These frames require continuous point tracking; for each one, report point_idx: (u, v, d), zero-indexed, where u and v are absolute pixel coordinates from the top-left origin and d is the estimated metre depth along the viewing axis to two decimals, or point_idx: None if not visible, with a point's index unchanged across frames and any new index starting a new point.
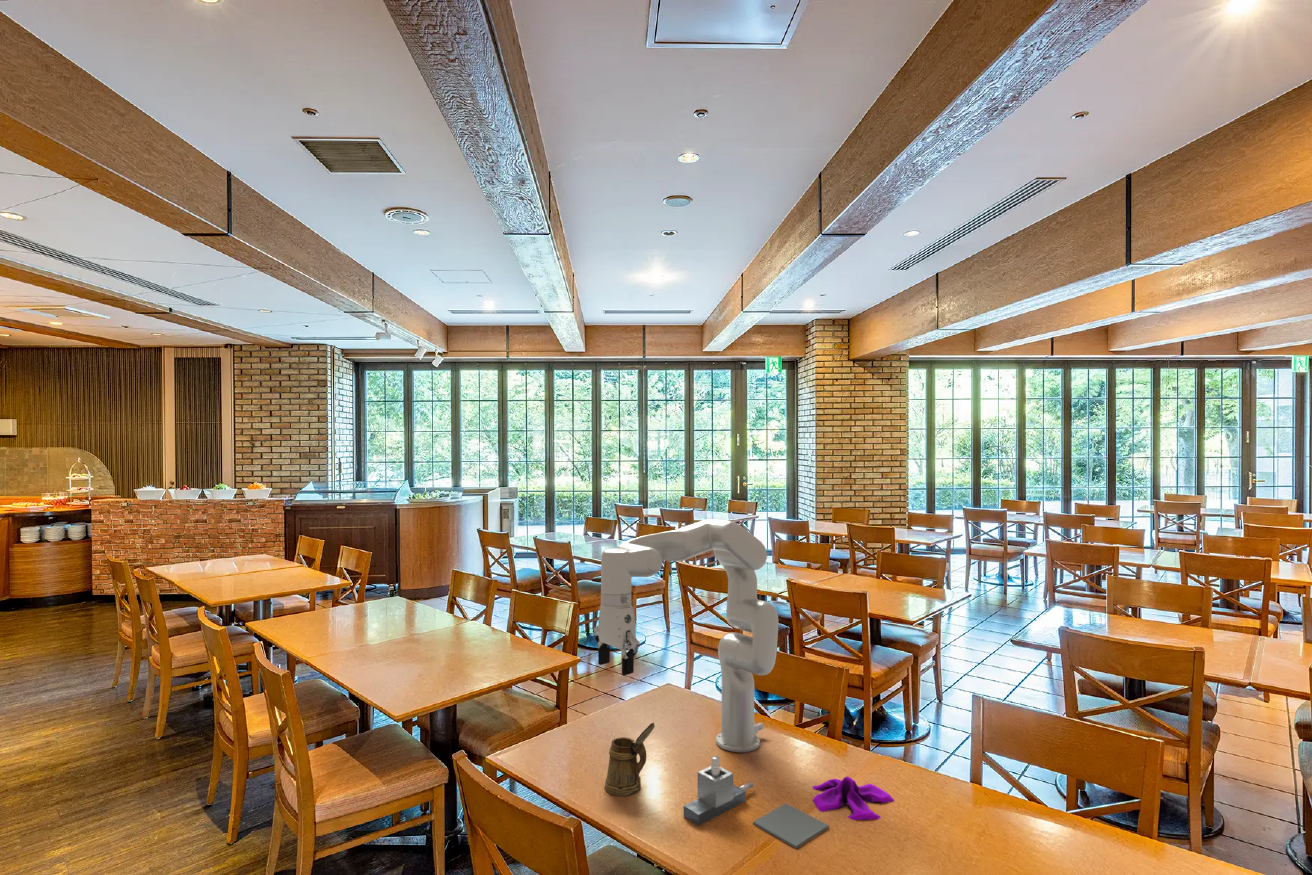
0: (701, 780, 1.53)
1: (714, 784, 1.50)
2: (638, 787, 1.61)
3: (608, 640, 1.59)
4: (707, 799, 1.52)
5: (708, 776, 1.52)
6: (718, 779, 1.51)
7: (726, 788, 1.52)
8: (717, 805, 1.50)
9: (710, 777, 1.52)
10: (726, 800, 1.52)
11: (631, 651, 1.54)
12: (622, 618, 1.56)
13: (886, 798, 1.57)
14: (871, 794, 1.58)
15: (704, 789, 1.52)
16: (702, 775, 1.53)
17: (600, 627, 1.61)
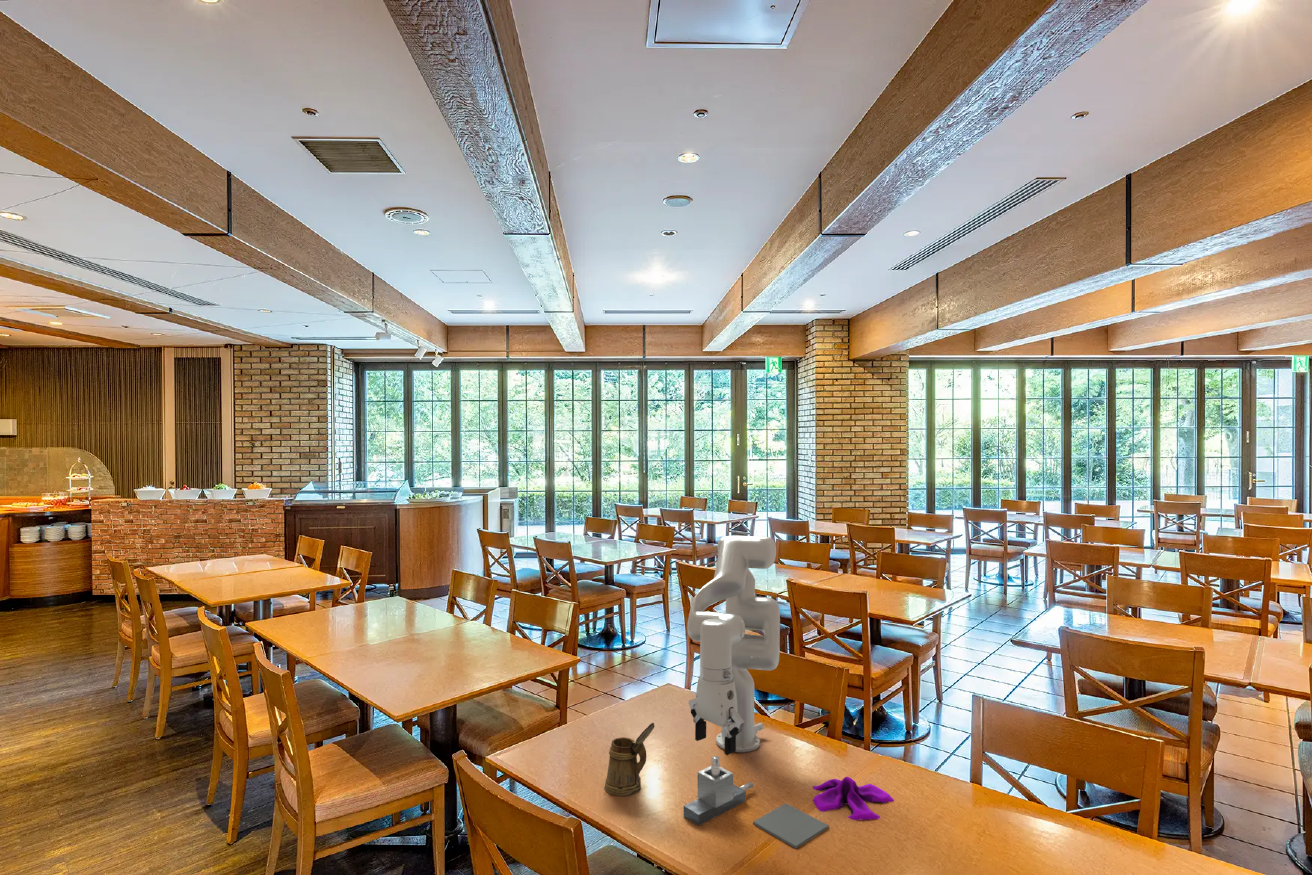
0: (701, 780, 1.53)
1: (714, 784, 1.50)
2: (638, 787, 1.61)
3: (708, 716, 1.52)
4: (707, 799, 1.52)
5: (708, 776, 1.52)
6: (718, 779, 1.51)
7: (726, 788, 1.52)
8: (717, 805, 1.50)
9: (710, 777, 1.52)
10: (726, 800, 1.52)
11: (735, 730, 1.48)
12: (725, 694, 1.50)
13: (886, 798, 1.58)
14: (871, 794, 1.58)
15: (704, 789, 1.52)
16: (702, 775, 1.53)
17: (698, 702, 1.55)
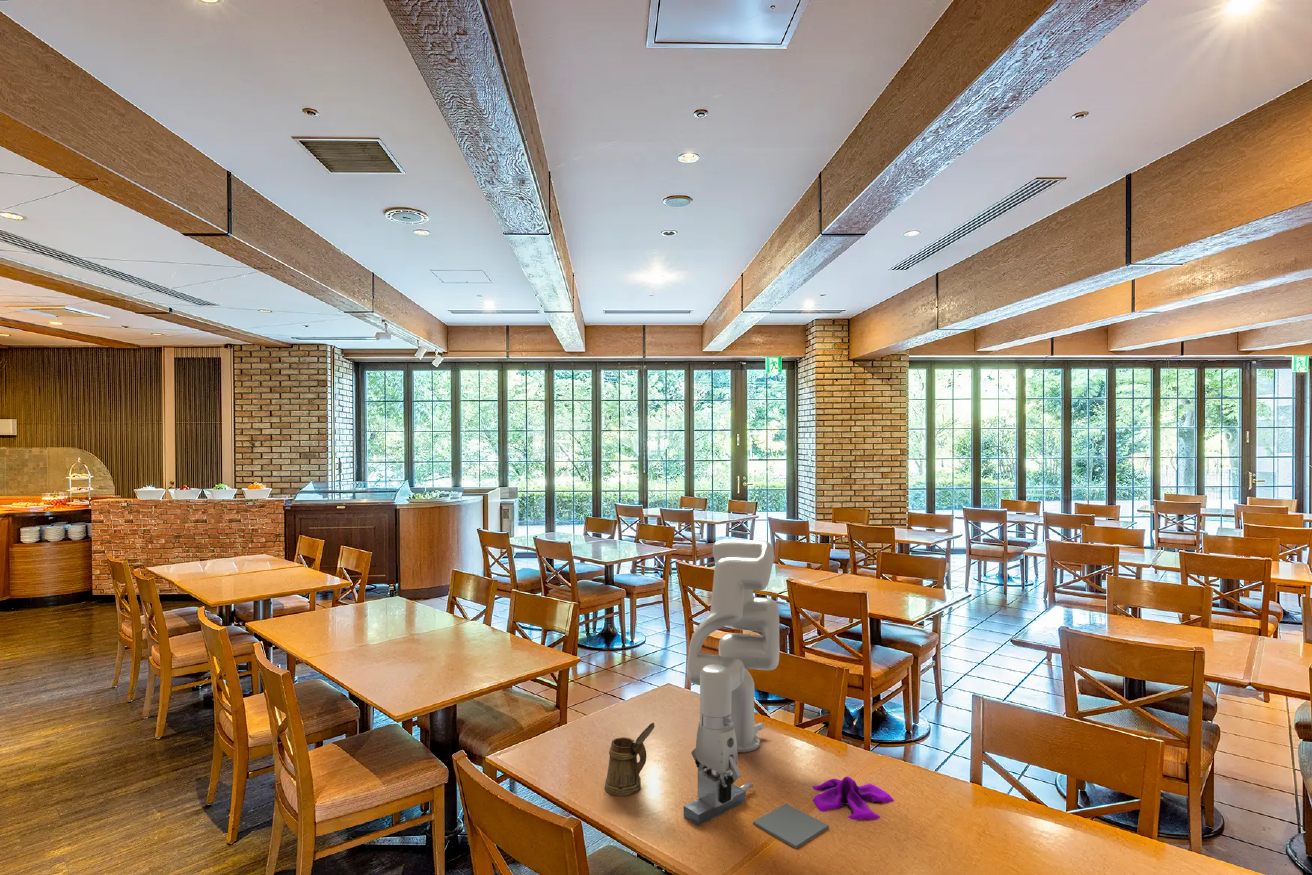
0: (701, 780, 1.53)
1: (714, 784, 1.50)
2: (638, 787, 1.61)
3: (708, 763, 1.53)
4: (707, 799, 1.52)
5: (708, 776, 1.52)
6: (718, 779, 1.51)
7: None
8: (717, 805, 1.50)
9: (710, 777, 1.52)
10: None
11: (731, 780, 1.49)
12: (725, 742, 1.50)
13: (886, 798, 1.58)
14: (871, 794, 1.58)
15: (704, 789, 1.52)
16: (702, 775, 1.53)
17: (698, 747, 1.55)
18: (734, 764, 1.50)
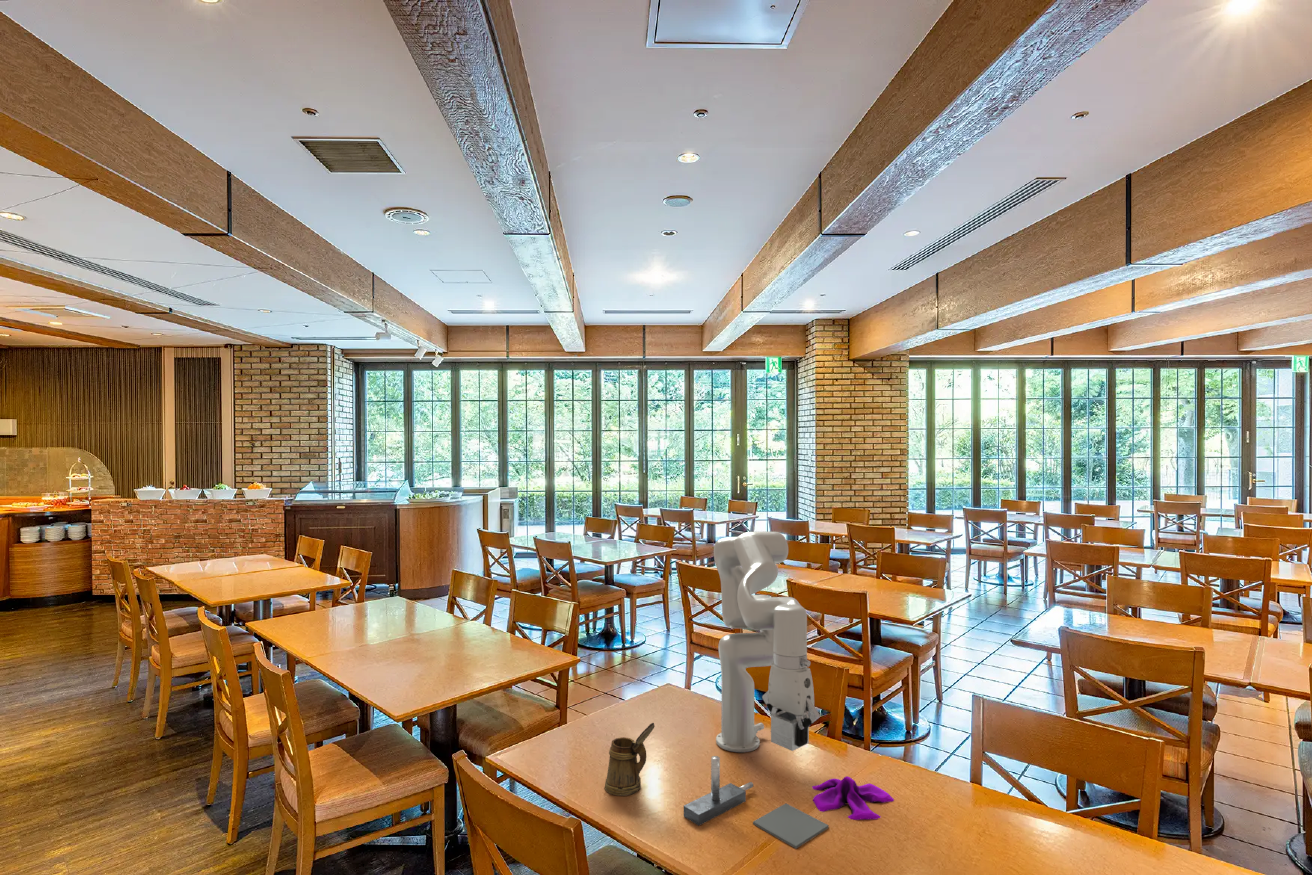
0: (775, 723, 1.47)
1: (790, 726, 1.43)
2: (638, 787, 1.61)
3: (783, 705, 1.46)
4: (782, 743, 1.45)
5: (783, 719, 1.46)
6: (794, 721, 1.44)
7: None
8: (793, 748, 1.43)
9: (785, 720, 1.45)
10: None
11: (808, 721, 1.42)
12: (802, 682, 1.43)
13: (886, 798, 1.58)
14: (871, 794, 1.58)
15: (778, 733, 1.46)
16: (776, 718, 1.47)
17: (772, 690, 1.49)
18: (812, 705, 1.43)
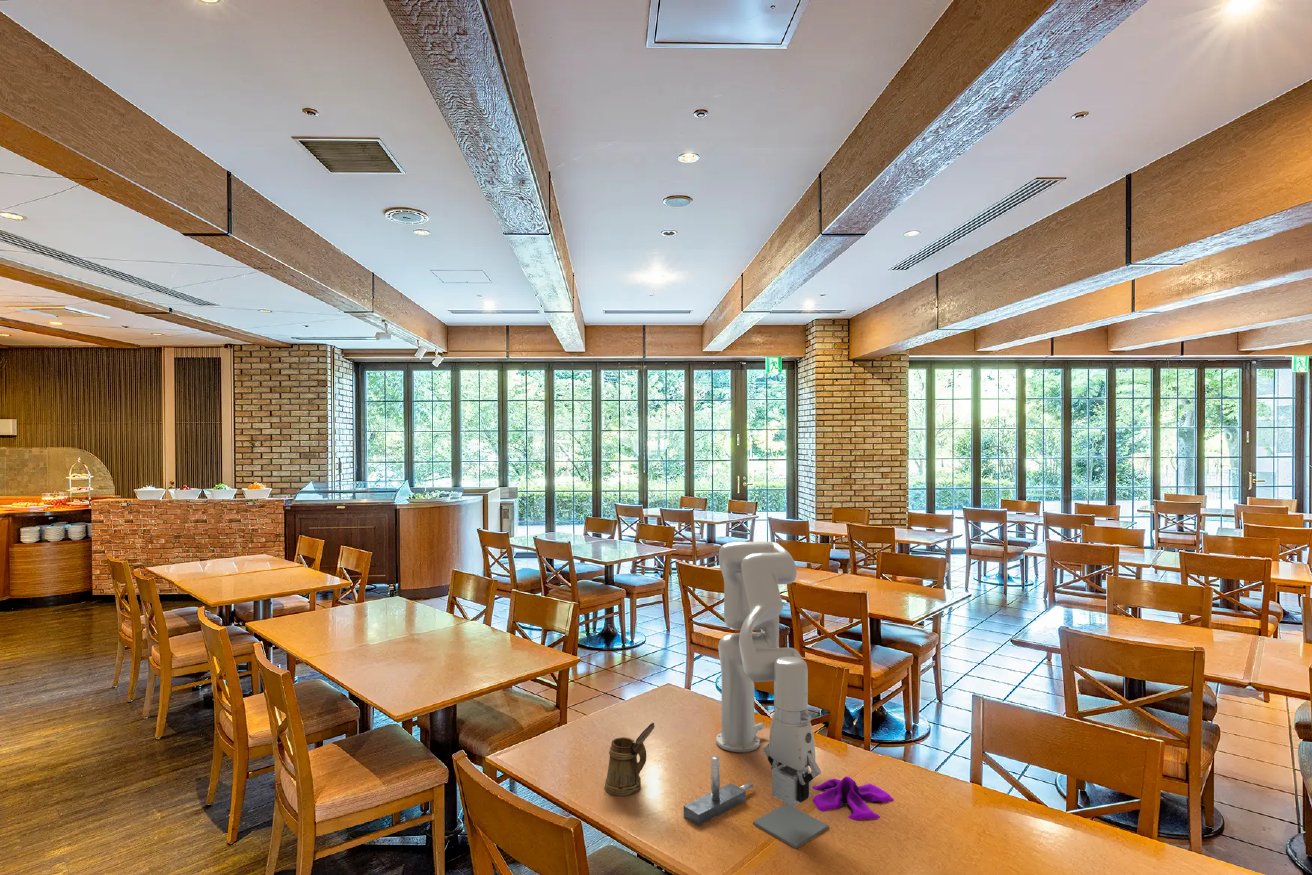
0: (776, 778, 1.46)
1: (791, 782, 1.43)
2: (638, 787, 1.61)
3: (784, 759, 1.46)
4: (783, 798, 1.44)
5: (784, 773, 1.45)
6: (795, 776, 1.44)
7: None
8: (795, 804, 1.43)
9: (786, 774, 1.45)
10: None
11: (810, 777, 1.42)
12: (803, 738, 1.43)
13: (886, 798, 1.58)
14: (871, 794, 1.58)
15: (779, 787, 1.45)
16: (777, 772, 1.46)
17: (772, 743, 1.48)
18: (813, 760, 1.43)
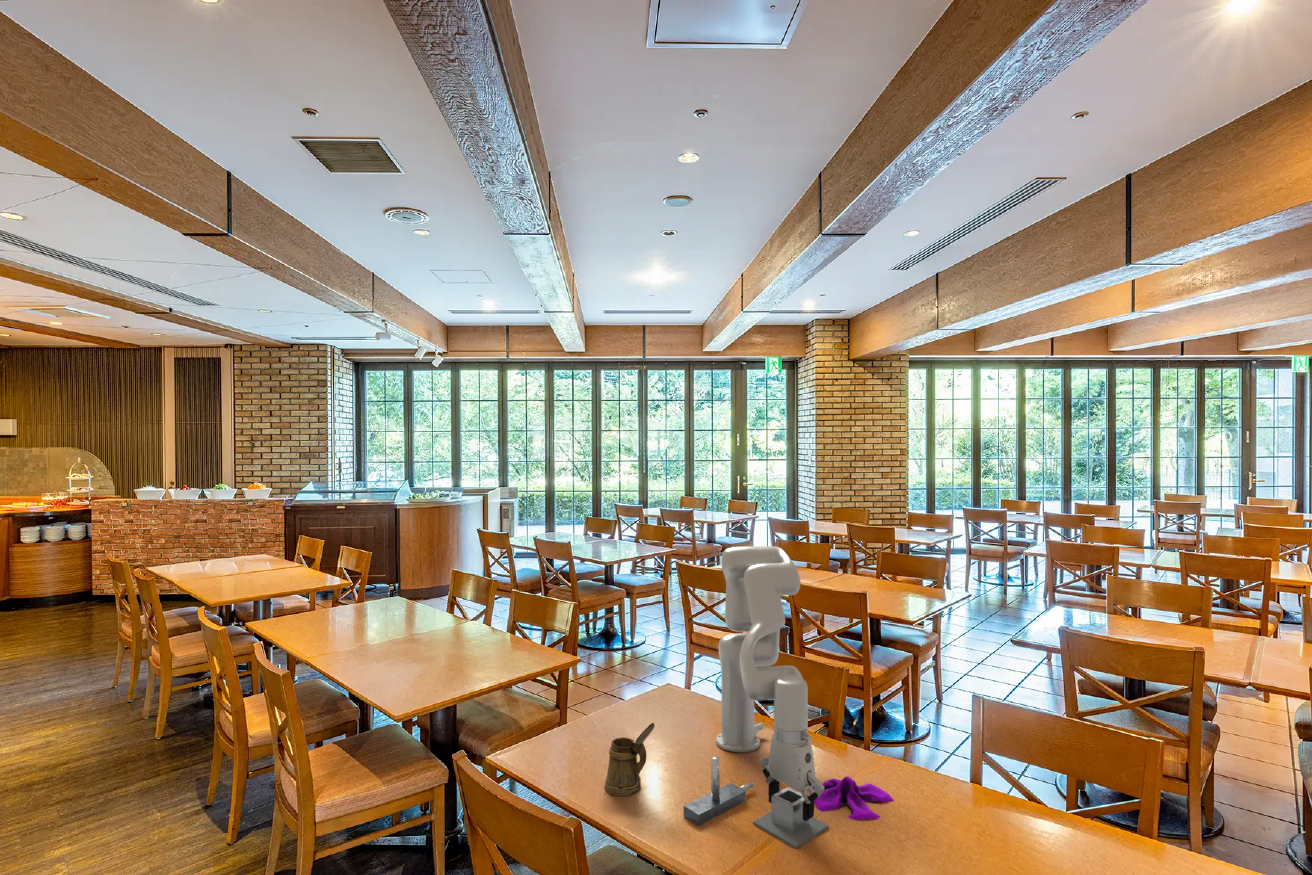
0: (776, 804, 1.46)
1: (791, 809, 1.43)
2: (638, 787, 1.61)
3: (784, 779, 1.46)
4: (783, 825, 1.45)
5: (784, 800, 1.45)
6: (795, 804, 1.44)
7: (802, 813, 1.45)
8: (794, 831, 1.43)
9: (786, 801, 1.45)
10: (802, 825, 1.45)
11: (815, 796, 1.41)
12: (803, 758, 1.43)
13: (886, 798, 1.58)
14: (871, 794, 1.58)
15: (779, 814, 1.46)
16: (777, 799, 1.46)
17: (772, 762, 1.48)
18: (814, 777, 1.42)
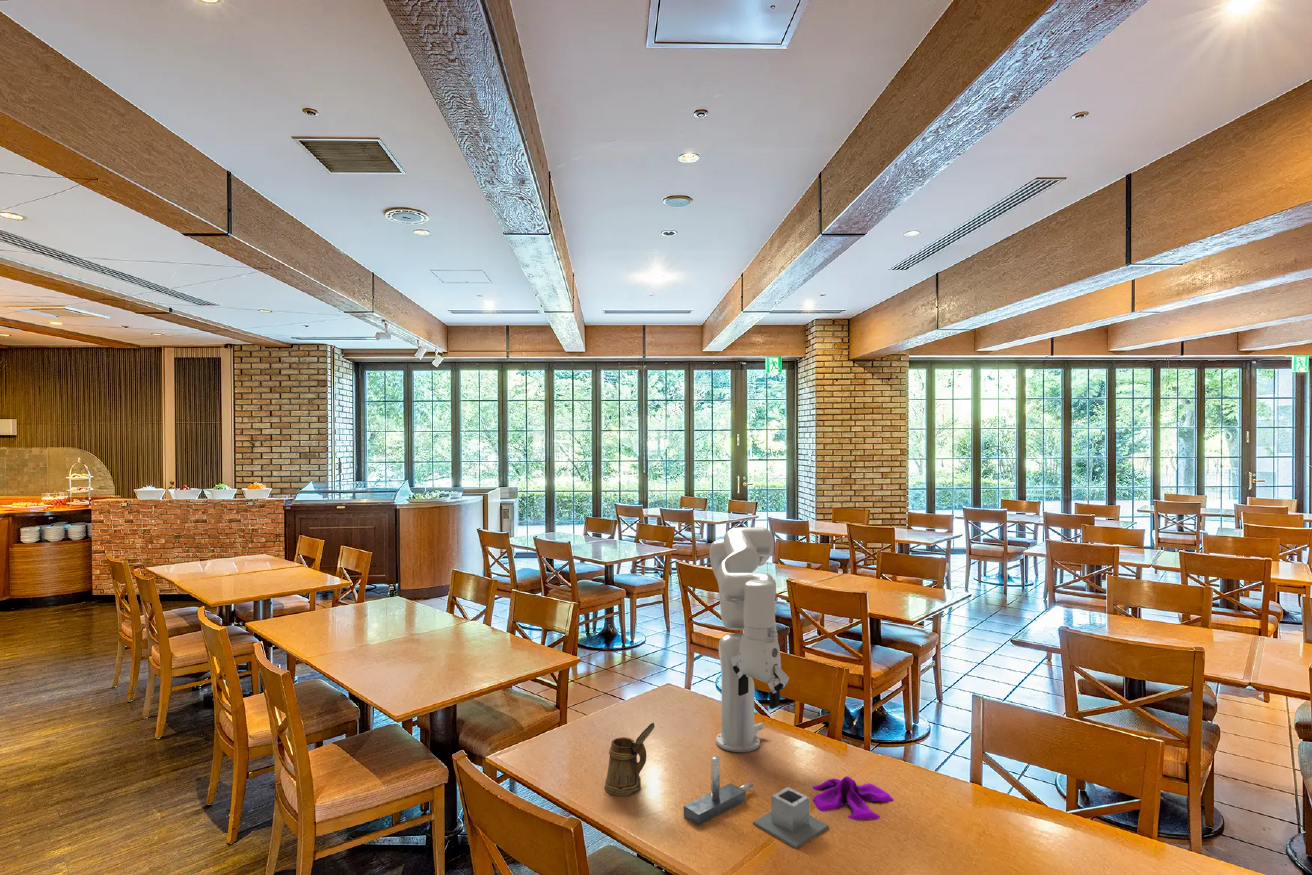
0: (776, 804, 1.46)
1: (791, 809, 1.43)
2: (638, 787, 1.61)
3: (752, 673, 1.57)
4: (783, 825, 1.45)
5: (784, 800, 1.45)
6: (795, 804, 1.44)
7: (802, 813, 1.45)
8: (794, 831, 1.43)
9: (786, 801, 1.45)
10: (802, 825, 1.45)
11: (780, 686, 1.52)
12: (770, 652, 1.54)
13: (885, 797, 1.58)
14: (871, 794, 1.58)
15: (779, 814, 1.46)
16: (777, 799, 1.46)
17: (742, 659, 1.59)
18: (780, 670, 1.54)
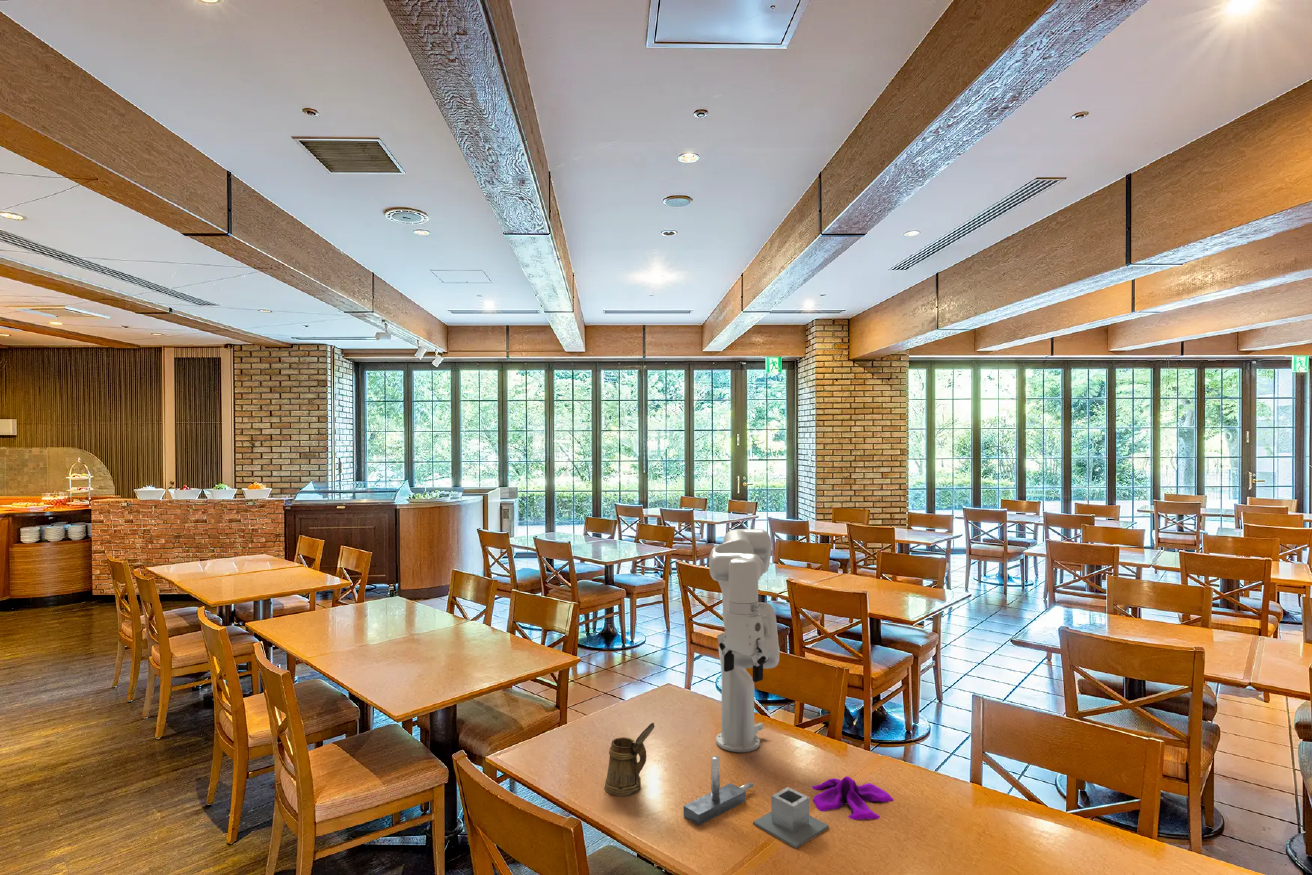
0: (776, 804, 1.46)
1: (791, 809, 1.43)
2: (638, 787, 1.61)
3: (737, 648, 1.62)
4: (783, 825, 1.45)
5: (784, 800, 1.45)
6: (795, 804, 1.44)
7: (802, 813, 1.45)
8: (794, 831, 1.43)
9: (786, 801, 1.45)
10: (802, 825, 1.45)
11: (763, 658, 1.58)
12: (753, 626, 1.60)
13: (885, 797, 1.58)
14: (871, 794, 1.58)
15: (779, 814, 1.46)
16: (777, 799, 1.46)
17: (727, 635, 1.65)
18: (763, 643, 1.59)
